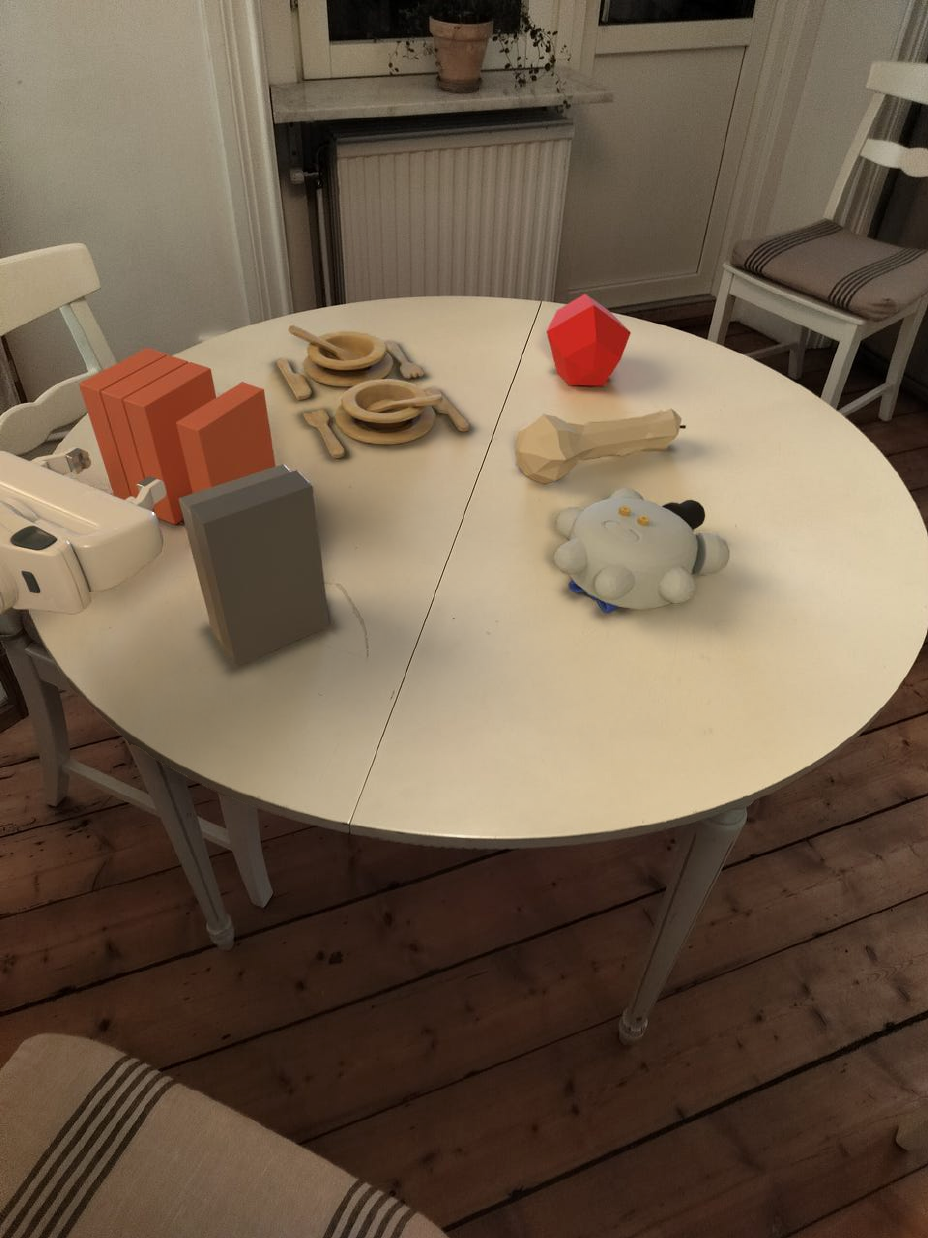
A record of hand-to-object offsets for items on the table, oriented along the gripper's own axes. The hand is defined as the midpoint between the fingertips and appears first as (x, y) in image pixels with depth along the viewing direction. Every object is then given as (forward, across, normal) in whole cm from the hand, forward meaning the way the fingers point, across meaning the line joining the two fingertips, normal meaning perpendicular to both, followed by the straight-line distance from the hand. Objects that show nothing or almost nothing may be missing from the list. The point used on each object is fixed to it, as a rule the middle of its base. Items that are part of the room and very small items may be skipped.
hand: (121, 469), depth 76 cm
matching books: (+15, -11, -15) cm, 24 cm away
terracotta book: (+14, 0, -15) cm, 21 cm away
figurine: (+29, +42, -15) cm, 53 cm away
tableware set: (+46, -5, -15) cm, 49 cm away
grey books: (+2, +13, -15) cm, 20 cm away
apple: (+68, +19, -15) cm, 72 cm away
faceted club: (+47, +31, -15) cm, 58 cm away
